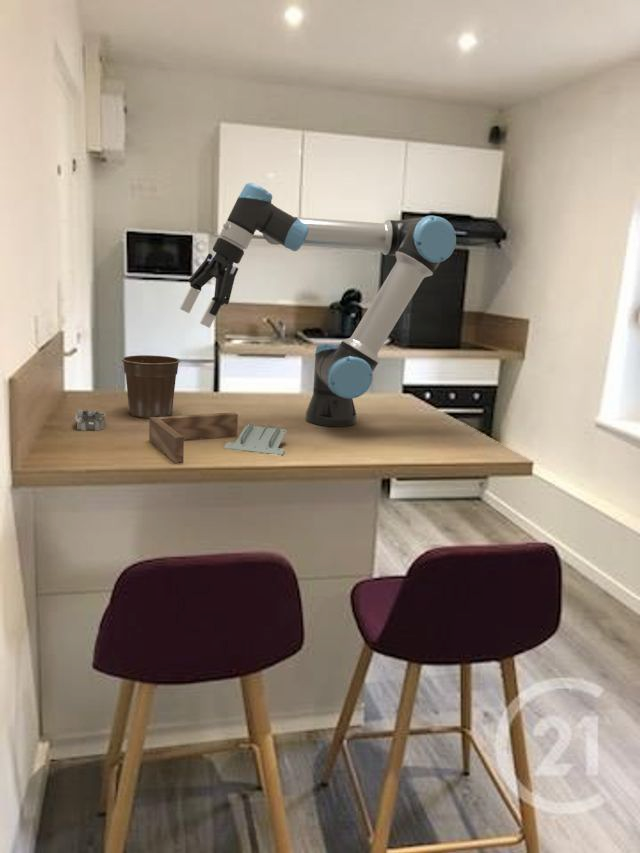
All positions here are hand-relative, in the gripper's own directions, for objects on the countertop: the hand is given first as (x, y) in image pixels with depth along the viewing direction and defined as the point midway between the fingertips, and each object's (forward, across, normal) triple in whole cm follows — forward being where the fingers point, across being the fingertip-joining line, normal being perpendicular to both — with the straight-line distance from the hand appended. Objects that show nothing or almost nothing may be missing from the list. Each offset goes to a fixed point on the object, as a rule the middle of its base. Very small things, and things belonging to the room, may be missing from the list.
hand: (194, 318), depth 177 cm
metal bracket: (+21, +24, +20) cm, 38 cm away
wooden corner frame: (+26, +21, +8) cm, 34 cm away
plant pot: (+32, -17, +10) cm, 38 cm away
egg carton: (+39, -8, -8) cm, 41 cm away
